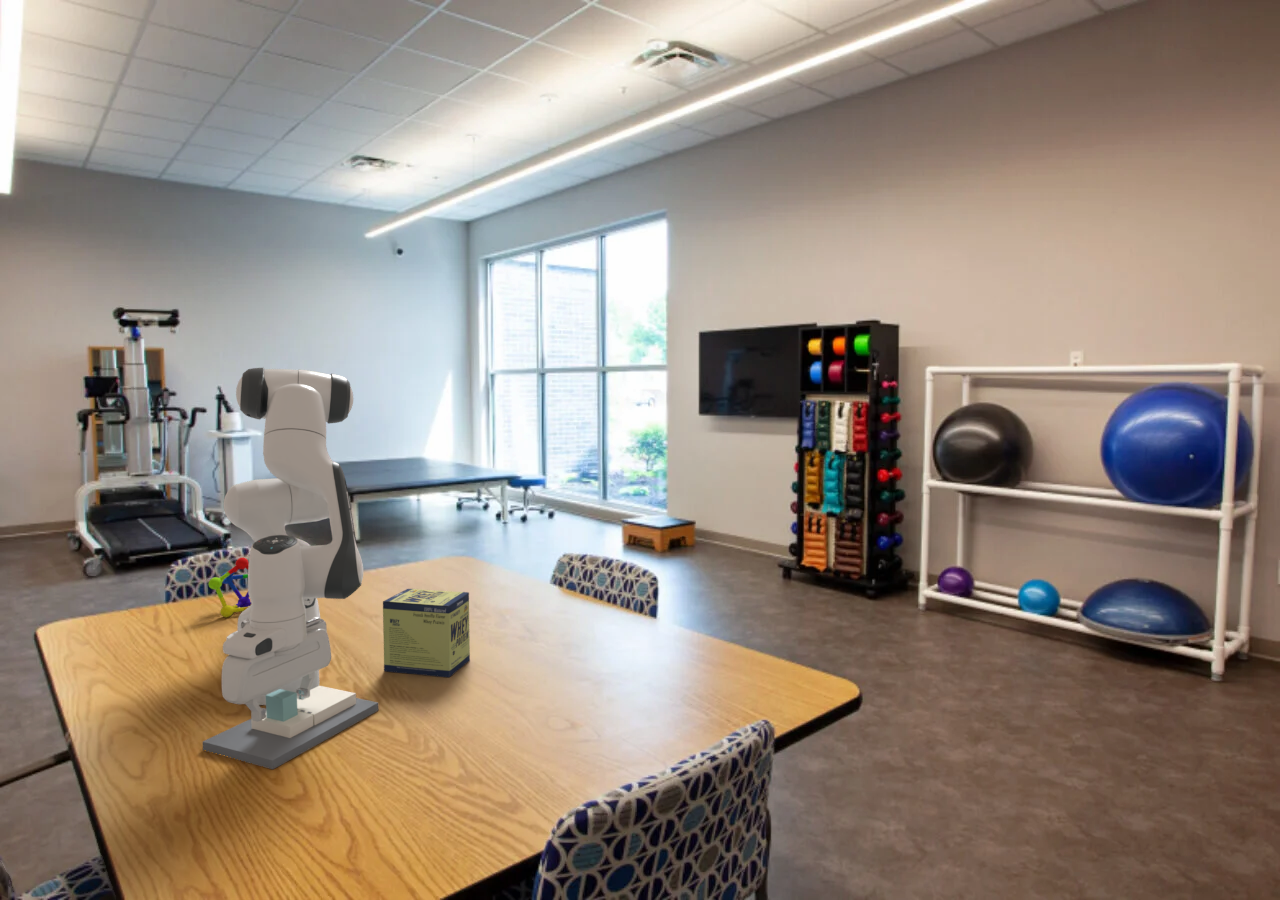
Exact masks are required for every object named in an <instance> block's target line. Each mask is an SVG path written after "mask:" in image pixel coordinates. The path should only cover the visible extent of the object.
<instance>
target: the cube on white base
mask: <svg viewBox="0 0 1280 900" xmlns="http://www.w3.org/2000/svg"><path fill="white" fill-rule="evenodd" d="M265 709H266V718H264V719H262V720H260V721H258V722H257V721H253V720H252V718H250V719H251V723H252V729H256V730H260V731H264V732H268V733H272V734H276V735H280V736H284V737H288V738H291V737H293V736H295V735H297V734H299V733H301V732H303V731H305V730H307V729H308V728H310V727H312V726H313V715H311V714H307V713H302V712H298V711H297V693H296V692H291V691H287V690H282V689H279V690H276V691H274V692H272V693H270V694H268V695H266V705H265Z"/></svg>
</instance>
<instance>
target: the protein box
mask: <svg viewBox="0 0 1280 900" xmlns="http://www.w3.org/2000/svg"><path fill="white" fill-rule="evenodd" d="M382 623H383V624H382V625H383V670H384V671H383V672H389V673H399V674H409V675H410V674H411V675H419V676H429V677H439V678H440V677H443V678H450V677H452V676H453V675H454V674H455V673H457V672H458V671H459V670H460V669H461V668H463V667H464V666H465V665H466V664H467V663H469V661H470V660H471V650H470V648H471V647H470V592H468V591H450V590H432V589H431V590H430V589H418V588H406V589H404V590H403V591H400V592H399V593H396V594H395V595H393V596H391V597H389V598H387V599H384V600H383V601H382Z"/></svg>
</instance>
